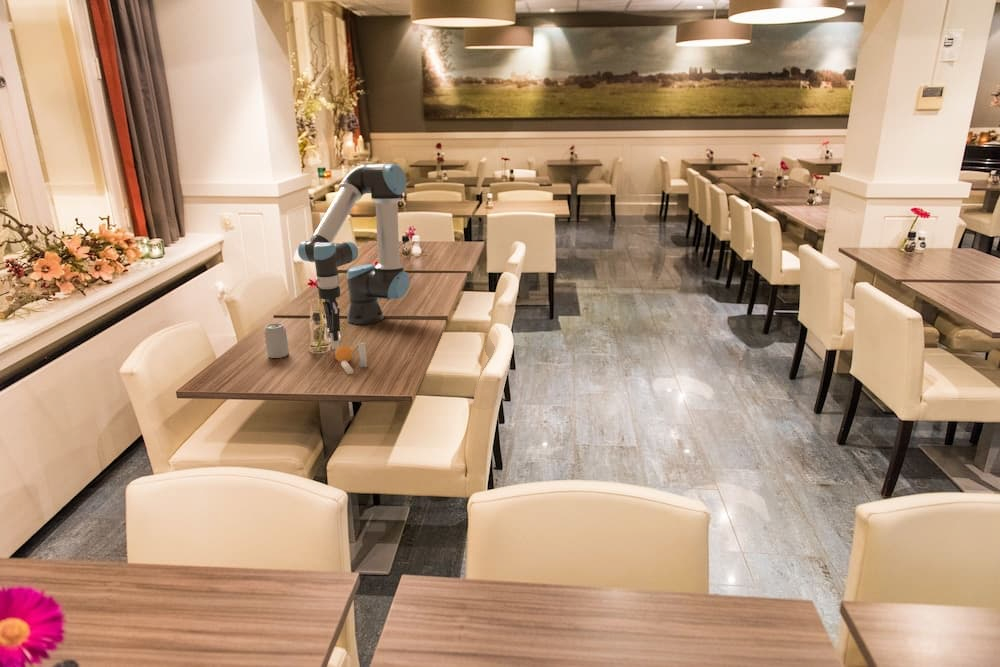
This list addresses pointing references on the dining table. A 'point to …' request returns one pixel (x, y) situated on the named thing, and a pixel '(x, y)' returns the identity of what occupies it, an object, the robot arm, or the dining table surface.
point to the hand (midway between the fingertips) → (335, 347)
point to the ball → (343, 353)
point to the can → (276, 340)
